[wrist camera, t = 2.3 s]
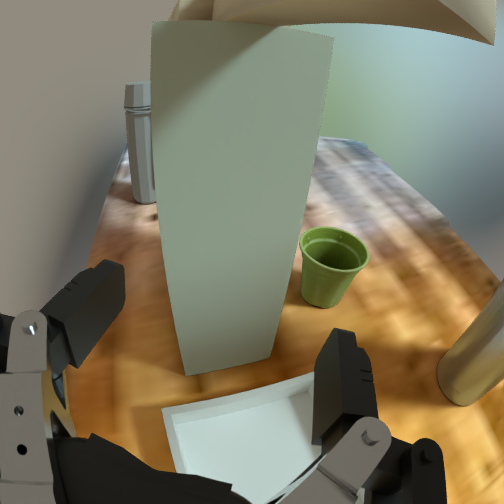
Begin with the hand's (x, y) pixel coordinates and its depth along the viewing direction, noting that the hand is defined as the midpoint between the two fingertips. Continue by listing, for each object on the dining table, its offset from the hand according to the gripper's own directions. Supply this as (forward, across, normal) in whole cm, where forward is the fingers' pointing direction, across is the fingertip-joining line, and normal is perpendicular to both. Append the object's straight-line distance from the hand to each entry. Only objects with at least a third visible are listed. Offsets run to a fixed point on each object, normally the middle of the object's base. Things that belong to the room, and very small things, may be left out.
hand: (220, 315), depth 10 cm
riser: (+22, +4, +19) cm, 29 cm away
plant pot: (+28, -11, +16) cm, 34 cm away
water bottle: (+46, +25, +17) cm, 55 cm away
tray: (-7, -13, +22) cm, 27 cm away
